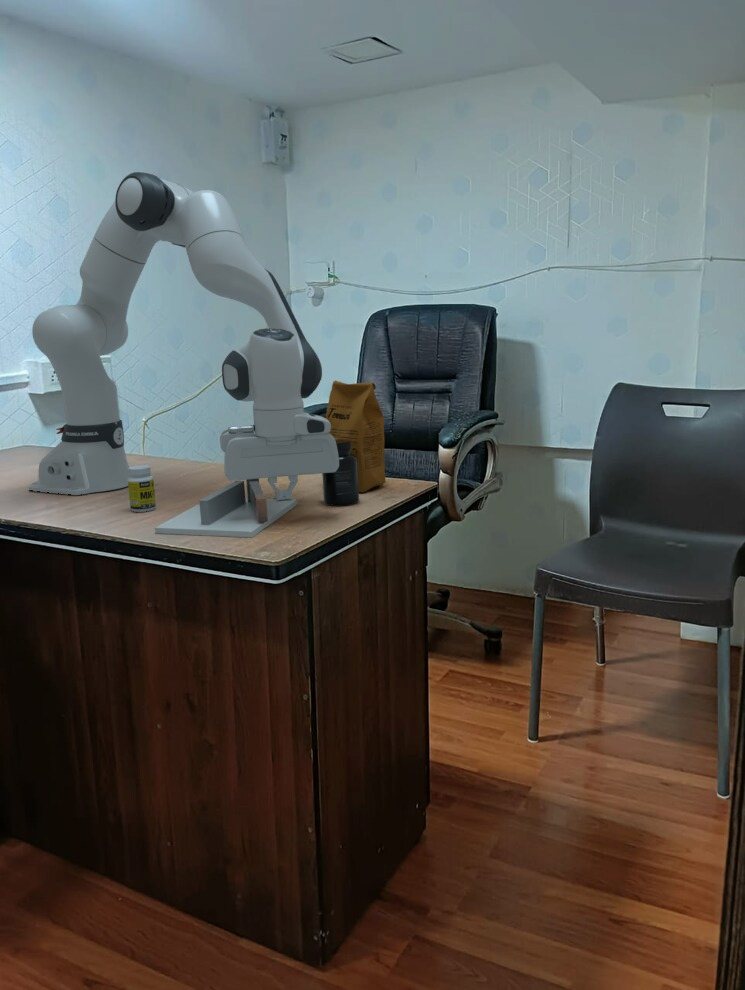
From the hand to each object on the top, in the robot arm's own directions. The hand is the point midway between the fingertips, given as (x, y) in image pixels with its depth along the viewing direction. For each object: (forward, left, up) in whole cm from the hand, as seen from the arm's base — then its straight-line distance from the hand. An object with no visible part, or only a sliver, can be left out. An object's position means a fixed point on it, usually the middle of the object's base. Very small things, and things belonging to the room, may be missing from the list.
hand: (284, 500), depth 143 cm
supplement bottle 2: (+7, +13, -4) cm, 15 cm away
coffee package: (+6, +26, -4) cm, 27 cm away
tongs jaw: (-5, 0, -2) cm, 6 cm away
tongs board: (-10, -1, -4) cm, 11 cm away
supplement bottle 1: (-30, +3, -4) cm, 31 cm away
